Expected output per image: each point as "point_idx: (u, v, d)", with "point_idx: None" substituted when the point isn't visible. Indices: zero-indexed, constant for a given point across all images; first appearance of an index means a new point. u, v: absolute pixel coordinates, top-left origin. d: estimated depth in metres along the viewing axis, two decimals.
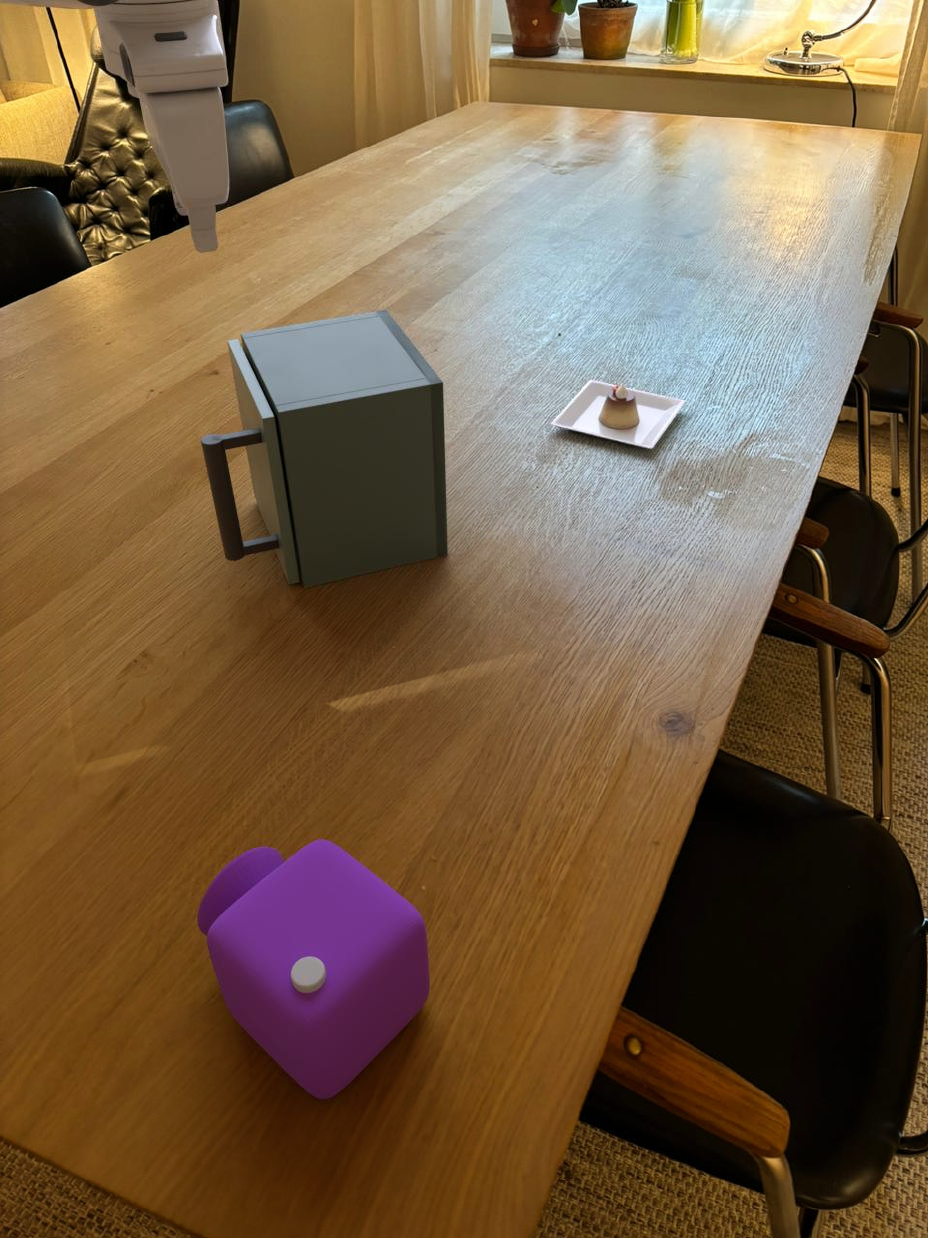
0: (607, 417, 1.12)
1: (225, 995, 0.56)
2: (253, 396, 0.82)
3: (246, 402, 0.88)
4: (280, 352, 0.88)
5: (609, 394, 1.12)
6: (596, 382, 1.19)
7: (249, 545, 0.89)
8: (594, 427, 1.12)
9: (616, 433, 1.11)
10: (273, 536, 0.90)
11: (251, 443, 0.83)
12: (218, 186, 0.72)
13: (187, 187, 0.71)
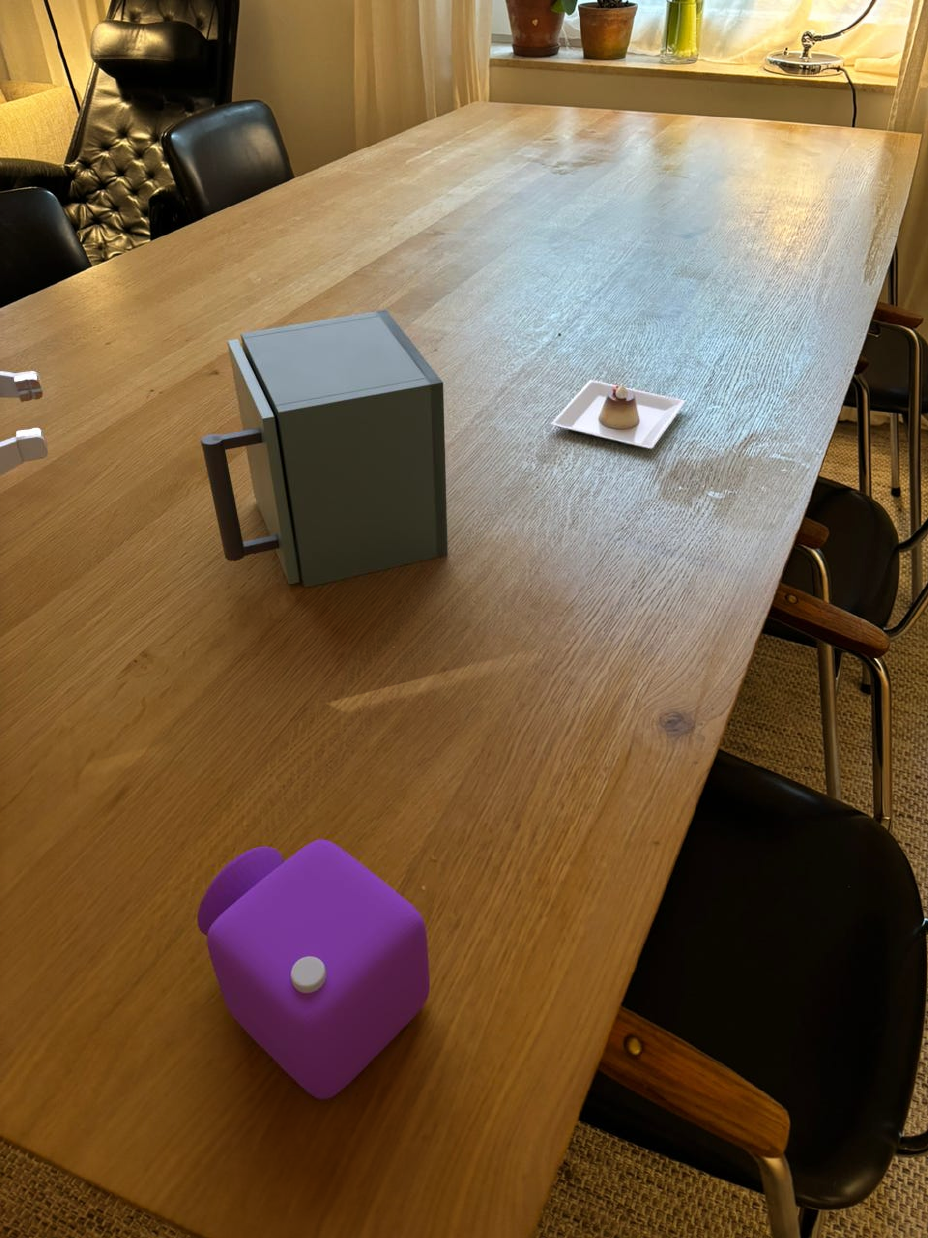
0: (607, 417, 1.12)
1: (225, 995, 0.56)
2: (253, 396, 0.82)
3: (246, 402, 0.88)
4: (280, 352, 0.88)
5: (609, 394, 1.12)
6: (596, 382, 1.19)
7: (249, 545, 0.89)
8: (594, 427, 1.12)
9: (616, 433, 1.11)
10: (273, 536, 0.90)
11: (251, 443, 0.83)
12: None
13: None
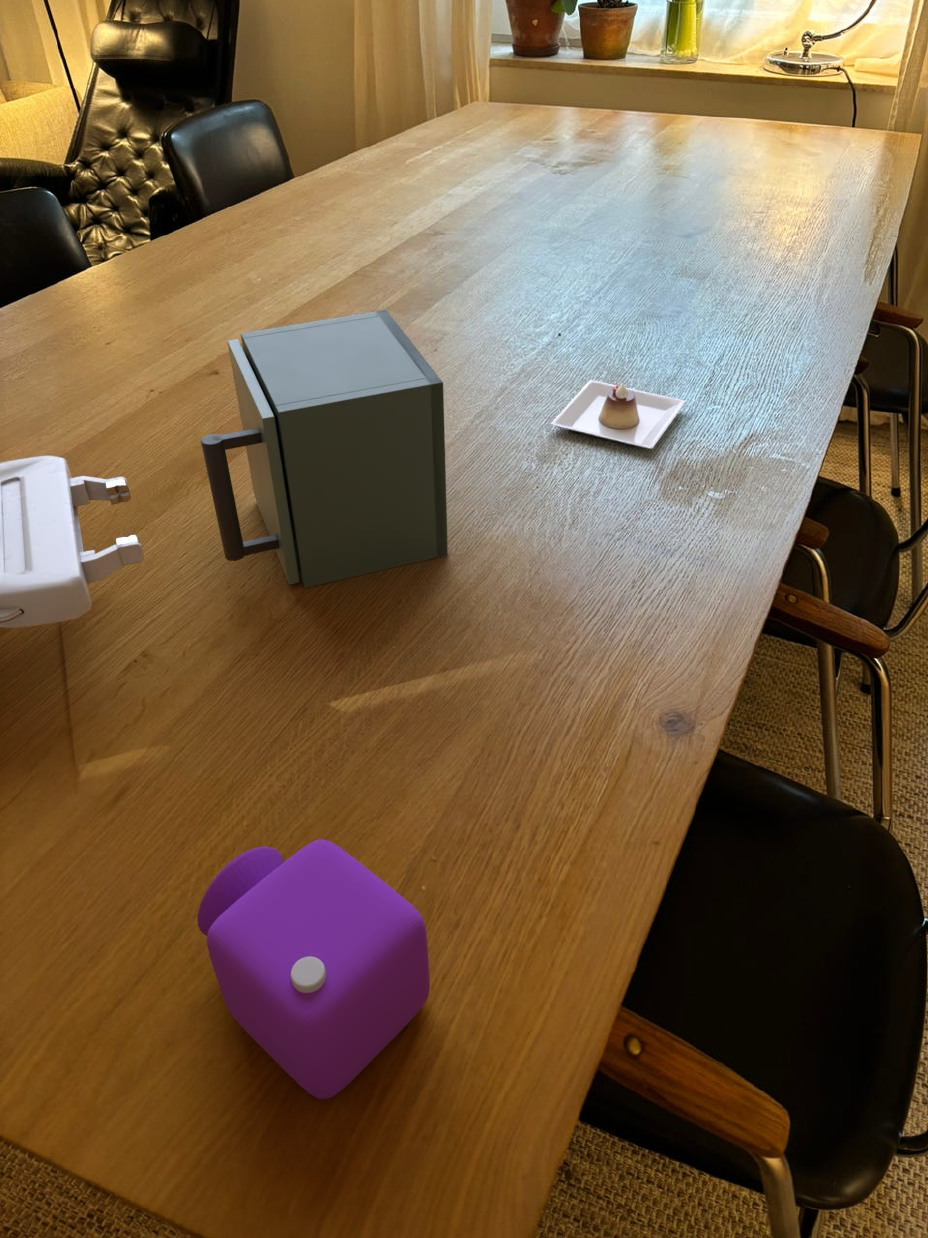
0: (607, 417, 1.12)
1: (225, 995, 0.56)
2: (253, 396, 0.82)
3: (246, 402, 0.88)
4: (280, 352, 0.88)
5: (609, 394, 1.12)
6: (596, 382, 1.19)
7: (249, 545, 0.89)
8: (594, 427, 1.12)
9: (616, 433, 1.11)
10: (273, 536, 0.90)
11: (251, 443, 0.83)
12: None
13: None
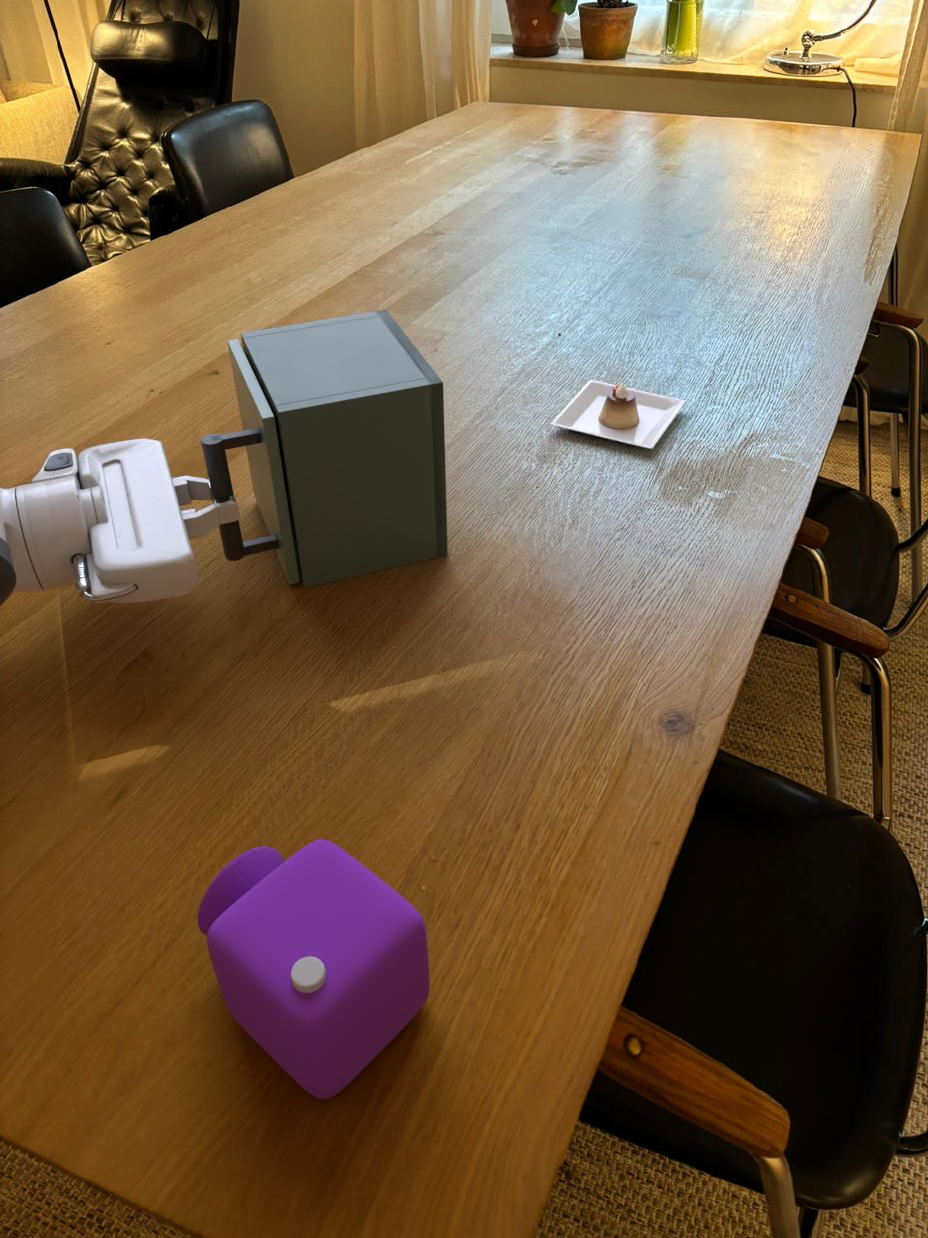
0: (607, 417, 1.12)
1: (225, 995, 0.56)
2: (253, 396, 0.82)
3: (246, 402, 0.88)
4: (280, 352, 0.88)
5: (609, 394, 1.12)
6: (596, 382, 1.19)
7: (249, 545, 0.89)
8: (594, 427, 1.12)
9: (616, 433, 1.11)
10: (273, 536, 0.90)
11: (251, 443, 0.83)
12: None
13: None
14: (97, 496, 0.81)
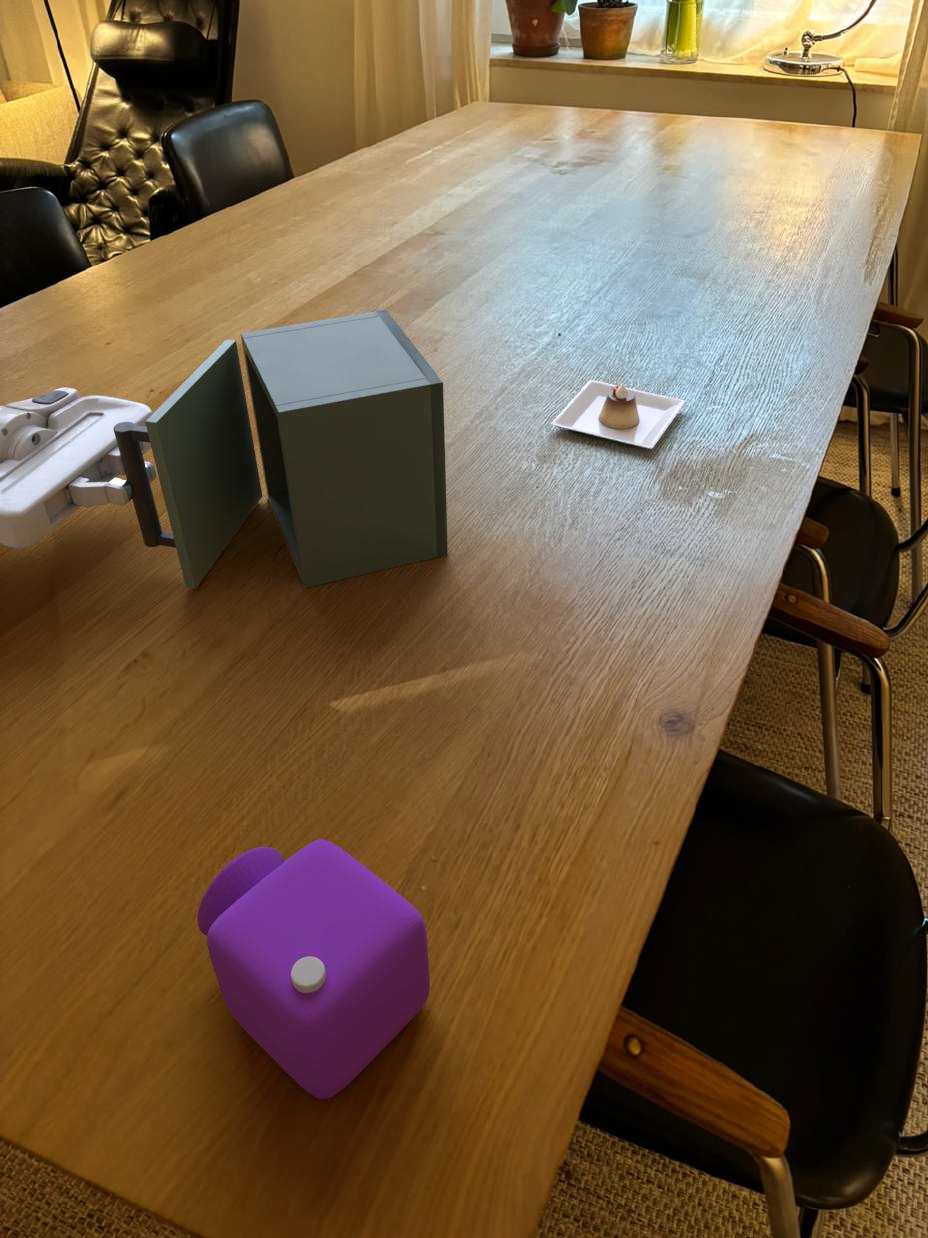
0: (607, 417, 1.12)
1: (225, 995, 0.56)
2: (168, 398, 0.82)
3: None
4: (280, 352, 0.88)
5: (609, 394, 1.12)
6: (596, 382, 1.19)
7: (164, 536, 0.90)
8: (594, 427, 1.12)
9: (616, 433, 1.11)
10: None
11: None
12: None
13: None
14: (26, 436, 0.88)
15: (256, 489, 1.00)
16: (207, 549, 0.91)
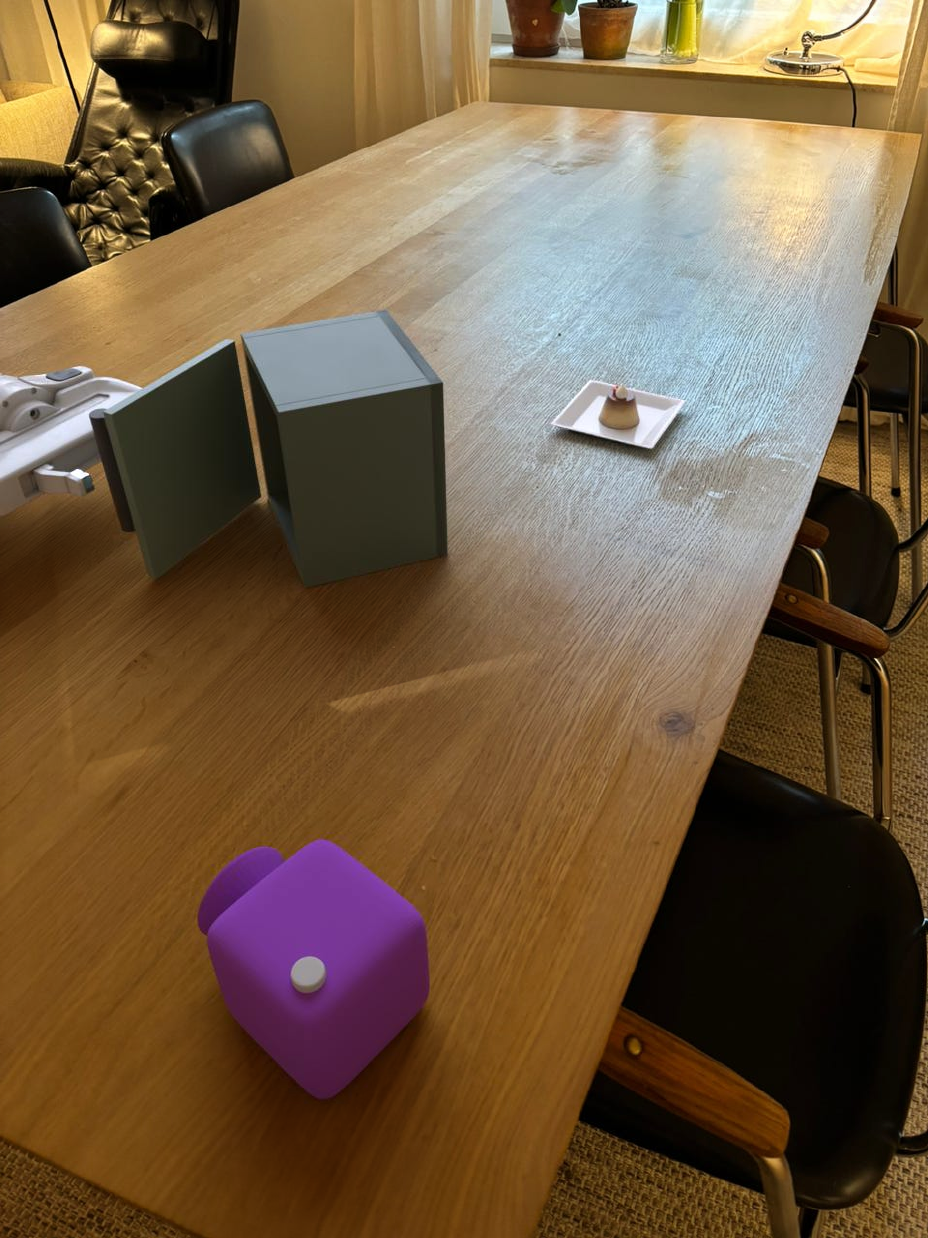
0: (607, 417, 1.12)
1: (225, 995, 0.56)
2: (138, 391, 0.83)
3: None
4: (280, 352, 0.88)
5: (609, 394, 1.12)
6: (596, 382, 1.19)
7: None
8: (594, 427, 1.12)
9: (616, 433, 1.11)
10: None
11: None
12: None
13: None
14: (25, 410, 0.92)
15: (252, 489, 1.00)
16: (176, 543, 0.92)
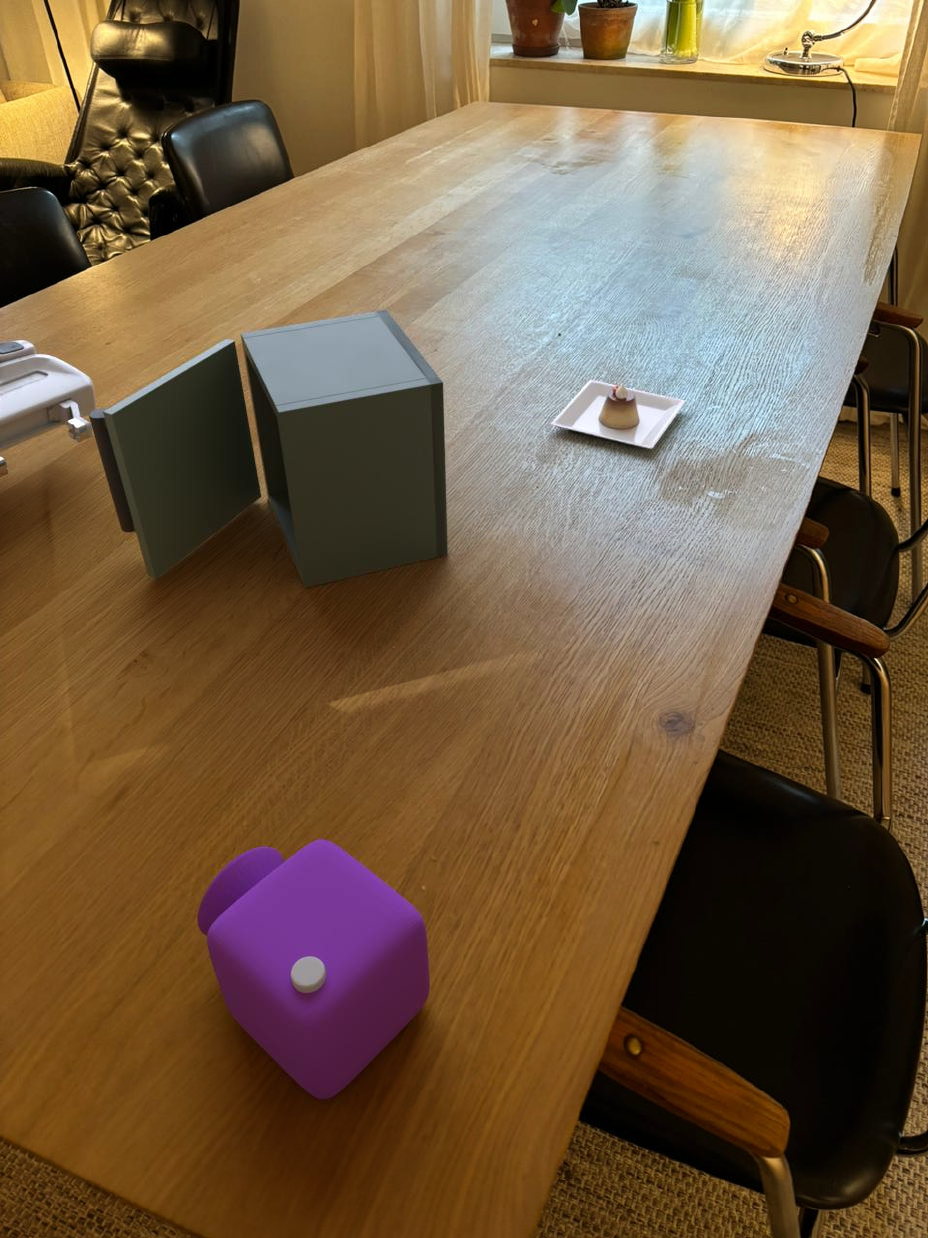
0: (607, 417, 1.12)
1: (225, 995, 0.56)
2: (138, 391, 0.83)
3: None
4: (280, 352, 0.88)
5: (609, 394, 1.12)
6: (596, 382, 1.19)
7: None
8: (594, 427, 1.12)
9: (616, 433, 1.11)
10: None
11: None
12: None
13: None
14: None
15: (252, 489, 1.00)
16: (176, 543, 0.92)
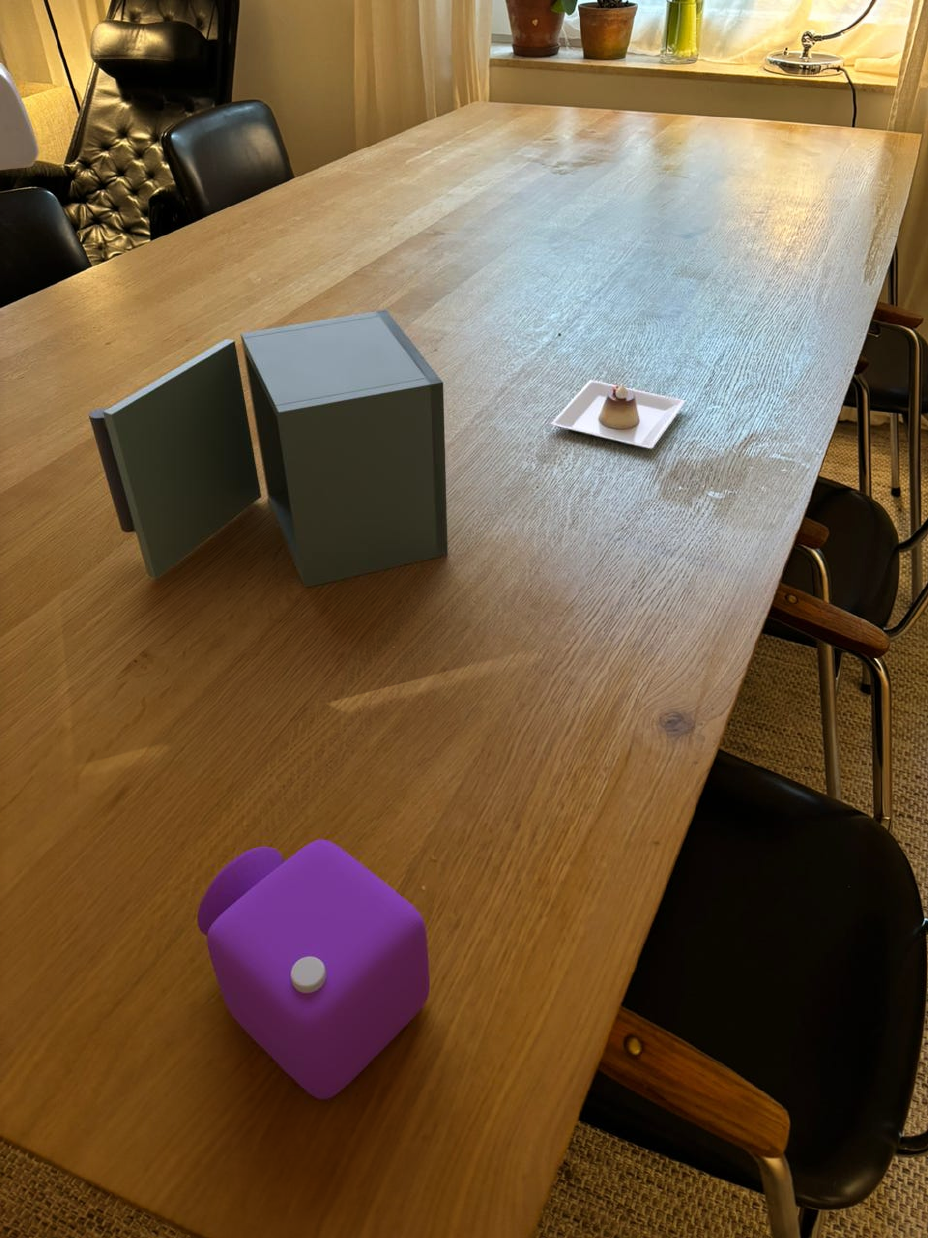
0: (607, 417, 1.12)
1: (225, 995, 0.56)
2: (138, 391, 0.83)
3: None
4: (280, 352, 0.88)
5: (609, 394, 1.12)
6: (596, 382, 1.19)
7: None
8: (594, 427, 1.12)
9: (616, 433, 1.11)
10: None
11: None
12: None
13: (36, 142, 0.77)
14: None
15: (252, 489, 1.00)
16: (176, 543, 0.92)
